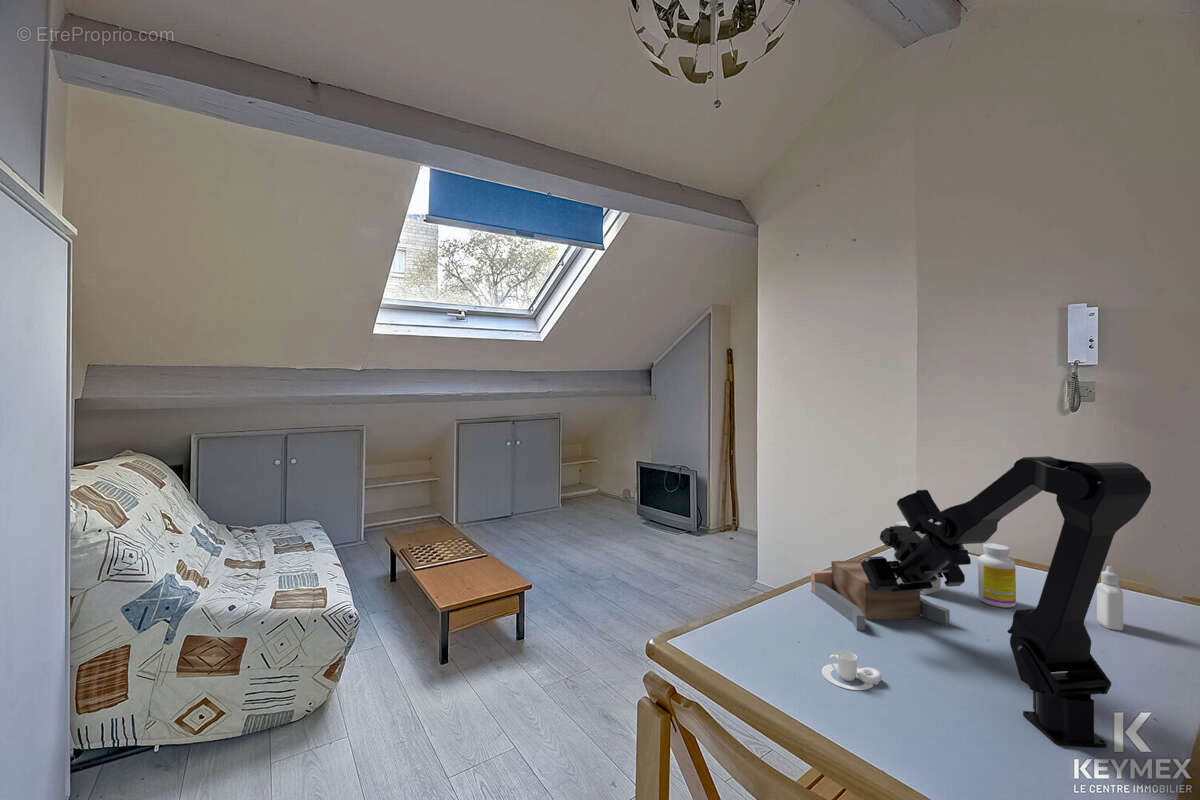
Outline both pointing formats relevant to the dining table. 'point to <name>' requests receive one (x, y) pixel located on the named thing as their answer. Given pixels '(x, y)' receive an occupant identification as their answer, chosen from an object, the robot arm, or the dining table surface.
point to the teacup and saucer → (851, 671)
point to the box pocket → (823, 590)
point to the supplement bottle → (997, 576)
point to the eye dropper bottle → (1110, 601)
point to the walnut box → (872, 593)
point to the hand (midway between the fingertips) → (892, 589)
